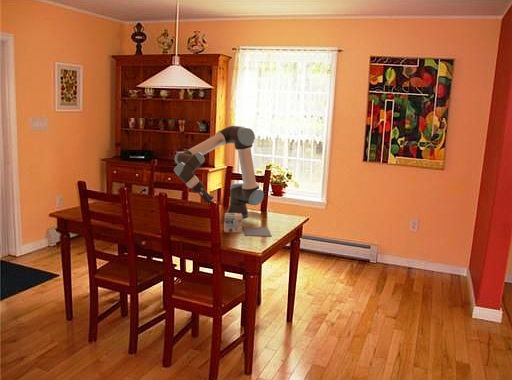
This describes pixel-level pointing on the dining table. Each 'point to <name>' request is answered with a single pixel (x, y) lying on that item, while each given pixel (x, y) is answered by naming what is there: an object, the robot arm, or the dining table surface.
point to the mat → (256, 231)
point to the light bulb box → (233, 222)
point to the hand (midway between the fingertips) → (218, 210)
